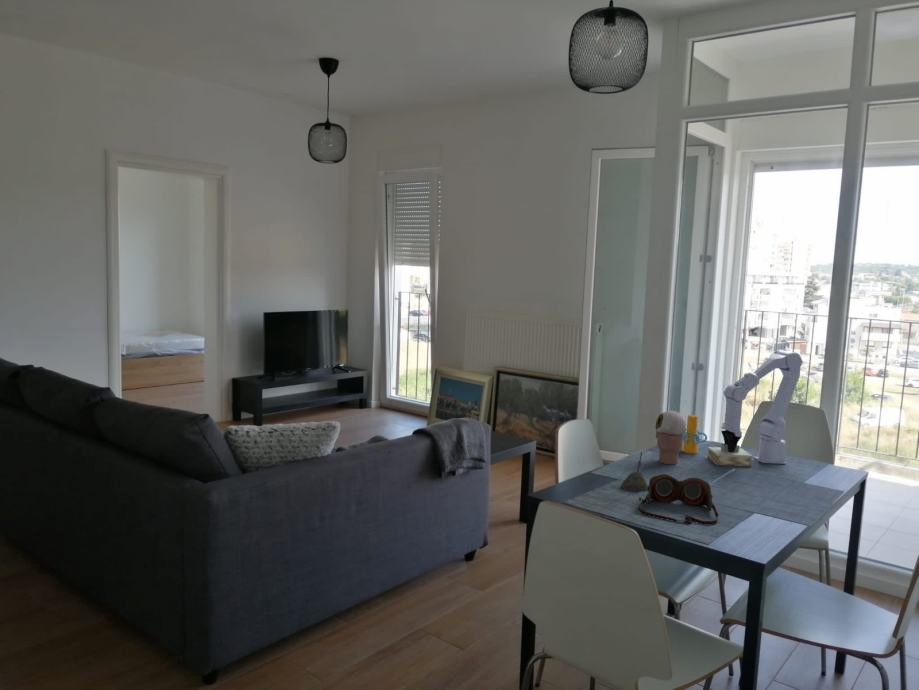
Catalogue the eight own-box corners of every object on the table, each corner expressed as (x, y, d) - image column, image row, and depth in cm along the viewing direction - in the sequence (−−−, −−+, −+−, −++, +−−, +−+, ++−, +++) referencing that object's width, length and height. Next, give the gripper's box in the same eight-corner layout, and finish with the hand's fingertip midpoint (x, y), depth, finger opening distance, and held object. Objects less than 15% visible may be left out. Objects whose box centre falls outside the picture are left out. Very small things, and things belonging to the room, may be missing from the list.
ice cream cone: (647, 458, 276) (651, 408, 274) (671, 457, 280) (676, 407, 277) (663, 466, 266) (667, 414, 264) (688, 465, 270) (692, 413, 267)
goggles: (646, 522, 207) (649, 489, 206) (624, 497, 230) (627, 467, 229) (728, 528, 208) (732, 494, 207) (699, 502, 231) (702, 472, 230)
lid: (741, 452, 282) (742, 442, 282) (752, 459, 272) (753, 449, 271) (707, 450, 282) (708, 440, 281) (717, 458, 272) (718, 447, 271)
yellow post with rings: (670, 447, 295) (673, 412, 293) (694, 447, 297) (697, 412, 295) (685, 456, 283) (688, 419, 281) (709, 455, 285) (712, 419, 283)
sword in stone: (637, 494, 233) (638, 458, 232) (616, 489, 238) (618, 454, 237) (653, 488, 240) (655, 453, 239) (633, 483, 245) (634, 449, 244)
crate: (740, 459, 282) (741, 450, 282) (750, 466, 272) (751, 457, 272) (707, 457, 282) (708, 449, 282) (716, 464, 272) (717, 455, 272)
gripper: (715, 411, 282) (712, 445, 284) (729, 419, 268) (726, 455, 269) (733, 412, 282) (730, 445, 284) (748, 420, 268) (745, 455, 269)
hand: (729, 450), depth 277 cm, fingers closed on lid, 2 cm apart
